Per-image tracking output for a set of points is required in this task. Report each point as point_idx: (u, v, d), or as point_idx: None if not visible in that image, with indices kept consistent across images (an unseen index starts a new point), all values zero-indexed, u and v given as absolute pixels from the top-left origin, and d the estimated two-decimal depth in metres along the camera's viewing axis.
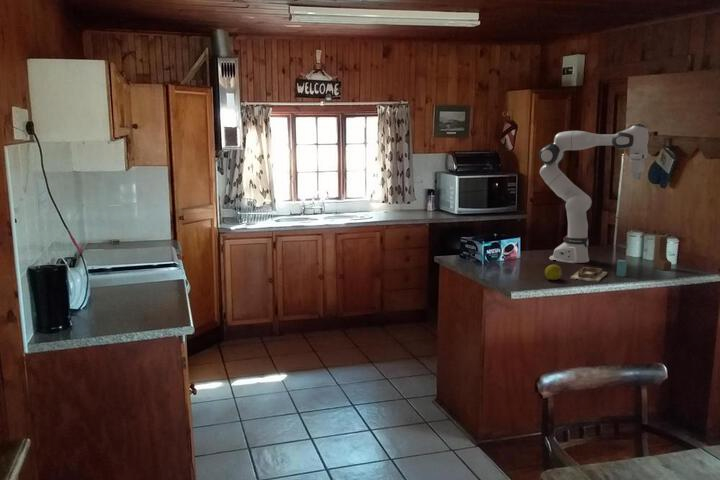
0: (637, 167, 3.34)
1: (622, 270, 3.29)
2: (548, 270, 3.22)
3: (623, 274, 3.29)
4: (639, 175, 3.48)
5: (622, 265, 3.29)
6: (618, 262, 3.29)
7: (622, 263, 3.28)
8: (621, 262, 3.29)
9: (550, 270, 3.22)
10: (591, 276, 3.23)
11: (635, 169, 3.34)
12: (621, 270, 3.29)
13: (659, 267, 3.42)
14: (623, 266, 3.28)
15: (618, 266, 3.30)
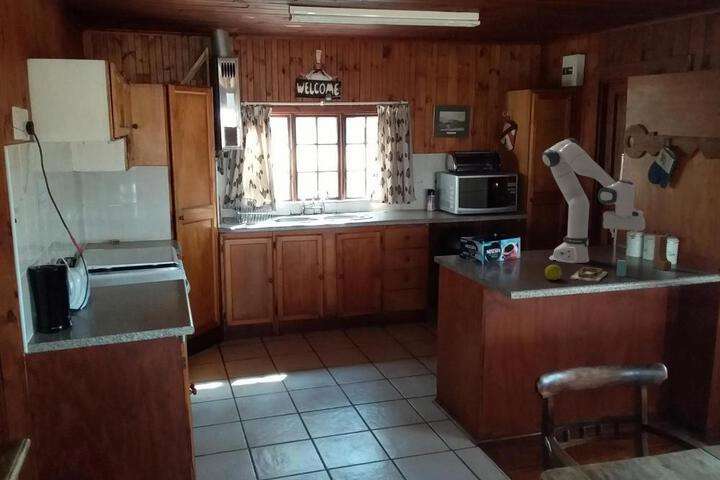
0: (644, 223, 3.22)
1: (622, 270, 3.29)
2: (548, 270, 3.22)
3: (623, 274, 3.29)
4: (613, 232, 3.31)
5: (622, 265, 3.29)
6: (618, 262, 3.29)
7: (622, 263, 3.28)
8: (621, 262, 3.29)
9: (549, 270, 3.22)
10: (591, 276, 3.23)
11: (644, 226, 3.22)
12: (621, 270, 3.29)
13: (659, 267, 3.42)
14: (623, 266, 3.28)
15: (618, 266, 3.30)
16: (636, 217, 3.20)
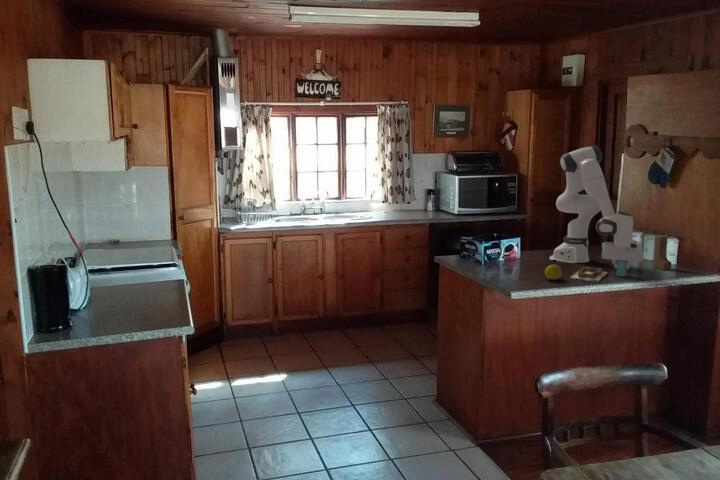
0: None
1: (622, 270, 3.29)
2: (548, 270, 3.22)
3: (623, 274, 3.29)
4: (615, 263, 3.32)
5: (622, 265, 3.29)
6: (618, 262, 3.29)
7: (622, 263, 3.28)
8: (621, 262, 3.29)
9: (549, 270, 3.22)
10: (591, 276, 3.23)
11: (642, 257, 3.25)
12: (621, 270, 3.29)
13: (659, 267, 3.42)
14: (623, 266, 3.28)
15: (618, 266, 3.30)
16: (634, 249, 3.23)
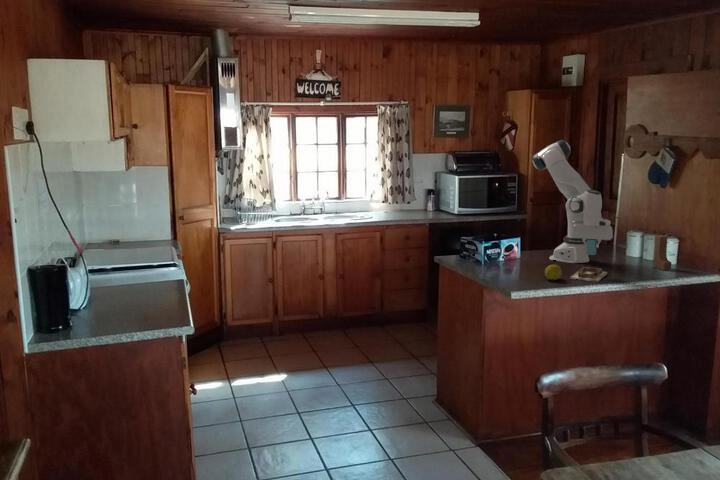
0: (612, 233, 3.25)
1: (592, 248, 3.29)
2: (548, 270, 3.22)
3: (593, 252, 3.29)
4: (585, 242, 3.32)
5: (591, 244, 3.29)
6: (588, 241, 3.29)
7: (592, 241, 3.28)
8: (591, 241, 3.28)
9: (550, 270, 3.22)
10: (591, 276, 3.23)
11: (612, 235, 3.25)
12: (591, 249, 3.29)
13: (659, 267, 3.42)
14: (593, 244, 3.28)
15: (588, 245, 3.30)
16: (603, 227, 3.23)
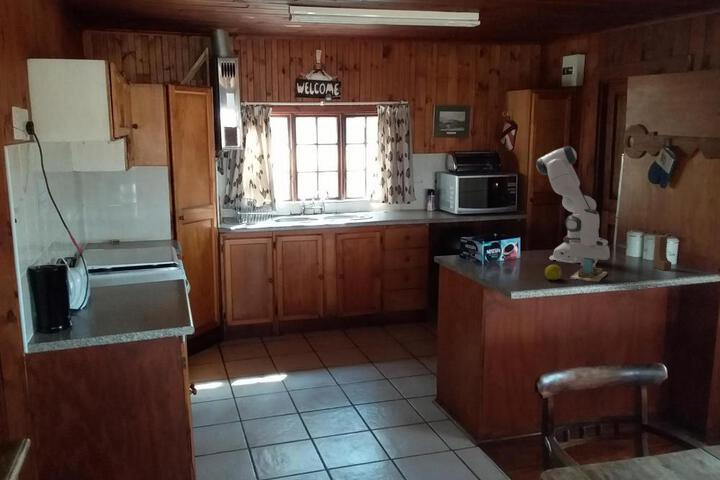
0: (609, 253, 3.23)
1: (588, 268, 3.27)
2: (548, 270, 3.22)
3: (589, 272, 3.27)
4: (582, 261, 3.30)
5: (588, 263, 3.26)
6: (584, 260, 3.27)
7: (589, 261, 3.26)
8: (588, 260, 3.26)
9: (549, 270, 3.22)
10: (591, 276, 3.23)
11: (609, 255, 3.22)
12: (587, 268, 3.27)
13: (659, 267, 3.42)
14: (589, 264, 3.26)
15: (584, 264, 3.27)
16: (600, 246, 3.21)
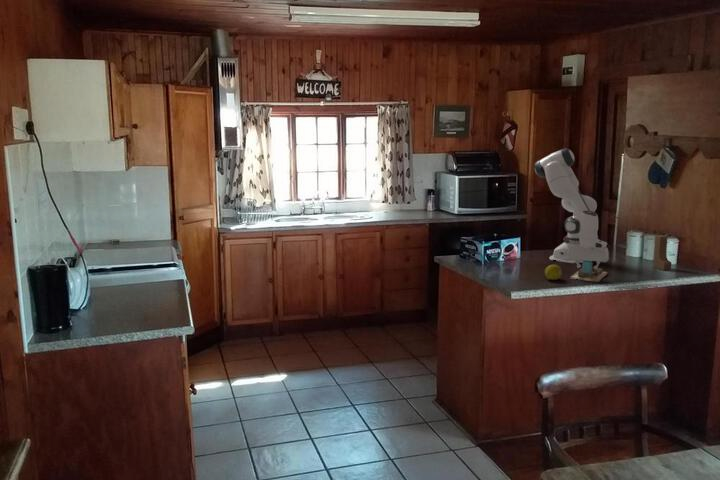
0: (608, 255, 3.21)
1: (587, 271, 3.25)
2: (548, 270, 3.22)
3: None
4: (578, 263, 3.29)
5: (587, 266, 3.24)
6: (583, 263, 3.25)
7: (588, 263, 3.24)
8: (587, 263, 3.24)
9: (550, 270, 3.22)
10: (591, 276, 3.23)
11: (608, 257, 3.20)
12: (586, 271, 3.25)
13: (659, 267, 3.42)
14: (588, 267, 3.24)
15: (583, 267, 3.25)
16: (599, 248, 3.19)
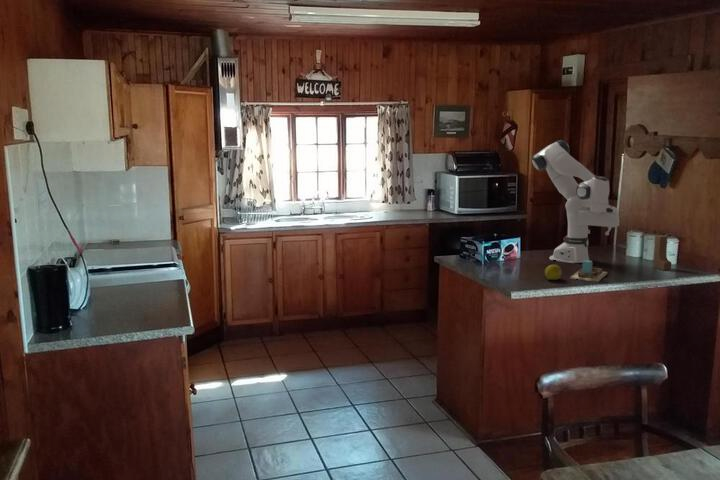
0: None
1: (587, 271, 3.25)
2: (548, 270, 3.22)
3: None
4: (587, 228, 3.29)
5: (587, 266, 3.24)
6: (583, 263, 3.25)
7: (588, 263, 3.24)
8: (587, 263, 3.24)
9: (550, 270, 3.22)
10: (591, 276, 3.23)
11: (618, 222, 3.20)
12: (586, 271, 3.25)
13: (659, 267, 3.42)
14: (588, 267, 3.24)
15: (583, 267, 3.25)
16: (610, 214, 3.18)
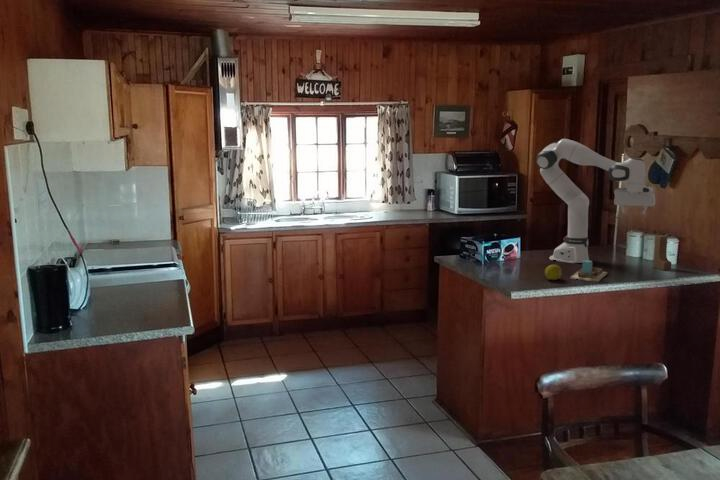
0: None
1: (587, 271, 3.25)
2: (548, 270, 3.22)
3: None
4: (623, 208, 3.39)
5: (587, 266, 3.24)
6: (583, 263, 3.25)
7: (588, 263, 3.24)
8: (587, 263, 3.24)
9: (550, 270, 3.22)
10: (591, 276, 3.23)
11: (654, 202, 3.30)
12: (586, 271, 3.25)
13: (659, 267, 3.42)
14: (588, 267, 3.24)
15: (583, 267, 3.25)
16: (647, 193, 3.29)
